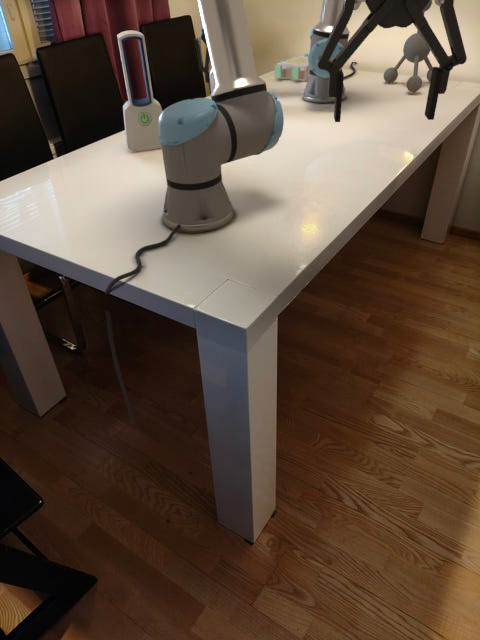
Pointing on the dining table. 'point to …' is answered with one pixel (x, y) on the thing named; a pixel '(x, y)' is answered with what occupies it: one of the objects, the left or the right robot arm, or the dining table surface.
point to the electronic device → (139, 102)
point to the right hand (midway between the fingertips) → (218, 92)
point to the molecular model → (413, 59)
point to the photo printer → (212, 80)
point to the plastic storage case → (293, 68)
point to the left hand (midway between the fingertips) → (382, 118)
